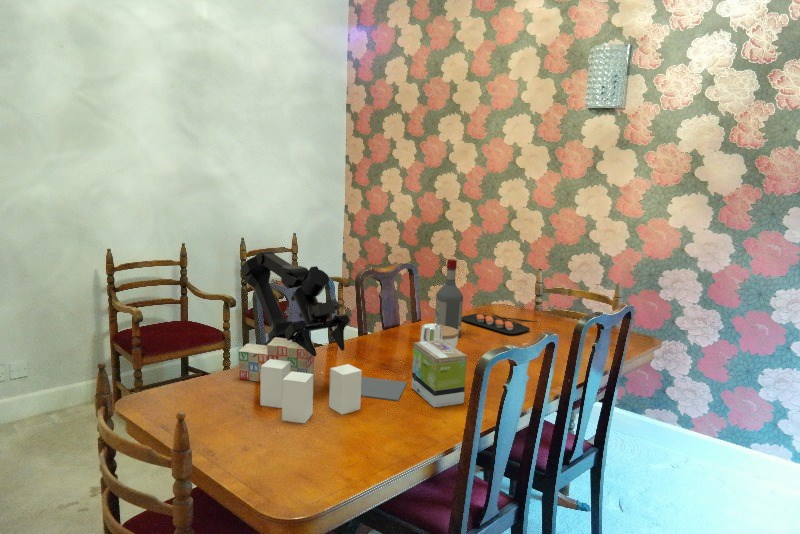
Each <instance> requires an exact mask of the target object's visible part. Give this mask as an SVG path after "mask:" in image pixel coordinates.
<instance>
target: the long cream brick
mask: <svg viewBox="0 0 800 534" xmlns="http://www.w3.org/2000/svg"><path fill="white" fill-rule="evenodd" d="M290 365H291V362H290V361H282V360H273V359H269V360H268V361H267V362H266V363H264V364H263V365H262V366H261V382H260V401H259V402H260V406H262V407H263V406H264V407H269V408H278V409H282V395H283V379H284V378H285V377H286V376H287V375H288V374H289V373H290Z"/></svg>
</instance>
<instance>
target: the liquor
mask: <svg viewBox="0 0 800 534" xmlns="http://www.w3.org/2000/svg"><path fill="white" fill-rule="evenodd" d="M457 262H458V261H457V259H454V258H453V259H452V258H450V259H447V261H446V263H447V264H446V279H445V284H444V285H442V287H440V288H439V290H437V292H436V294H435V295H436V296H435V312H434V314H435V315H434V324H438V325H440V324H442V325H443V326H449V327H453V328H455V329H457V330H458V331H459V335H458V338H460V337H461V333H462V321H463V320H462V316H463V306H464V305H463V304H464V303H463V302H464V296H463V294H462V292H461V290H460V289H459V287H458V286H457V285H456V273H457V266H458V265H457V264H458V263H457Z"/></svg>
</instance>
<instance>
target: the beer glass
mask: <svg viewBox="0 0 800 534" xmlns="http://www.w3.org/2000/svg"><path fill="white" fill-rule="evenodd" d="M441 339H442V326H441V325H438V324H435V323H424V324H422V325H421V331H420V341H419V342H424V341H433V340H441Z"/></svg>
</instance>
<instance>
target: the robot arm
mask: <svg viewBox="0 0 800 534" xmlns="http://www.w3.org/2000/svg"><path fill="white" fill-rule="evenodd" d="M240 270H241V271H240V272H241V275H242V277H243V278H244V280H245V282H246V284H248V285H249V286H251V287H252V288H253V289H254V291H255V292H256V296H257V298H258V300H259V303H260V306H261V308H262V311H263V312H264V315H265V318H266V320H267V323H268V325H269V330H268V333H267V337H268V340H267V341H266V342H265V343H264V345H266V346H267V345H268V344H269V343H270V342H271V341H272V340H273V339H274V338H275V337H277V338H284V339H285V338H287V340H288V341H289V340H292V342H296V343H297V344H299V345H300V346H302V347H303V348H304V349H305V350H307V351H308V352H309V353H310V354H311V355H313V356H314V358H315V357H317V355H318V353H317V351H316V349H315V345H314V346H313V343H312V342H313V341H312V339H311V337H310V336H311V335H310V332H312V331H319V330H324V329H329V331H331V334H330V335H331V337H332V338H333V339H334V342H335V343H336V345H337V346H338V348H339V349H340V351H342V352H344V350H345V337H344V336H345V335H344V332H345V329H346V327H347V326H348V325H349V323H350V322H351V318H350V317H349V315H348V314H346V313H342V314H336V311H337V310H339V309H340V305H339V302H338V300H337V298H331V299H329V300H327V301H326V302H322V301H321V302H320V301H318V298H317V297H319V296H320V295H321V293H322V292H323V291H324V289H325V288H326V287H327V286H328V284H329V282H330V277H329V275H328V274H327V273H326V272H325V271H324V270H322V269H319V267H318V266H317V265H316V266H315V265H314V266H311V267H310V268H309V269H308V268H307V267H306V266H301V265H294V264H291V263H289V262H288V261H286V260H285V259H283V258H281V257H280V256H278V255H276V254H275V252H273V251H270V250H269V251H259V252H257V253H256V255H254V256H253V257H250V259H247V260H246V261H245V262H244V263H243V264H242V266H241V269H240ZM271 273H274V274H275V275H277V276H278V277H280V282H281V283H282V285H284V286H285V288H286V289H295V291H292V294H291V298H290V300H291V302H296V305H297V306H298V308H299V311H300V313H299V314H298V316H299V318H300V319H301V318H302V319H303V320H297V321H292V320H290V321H287V320H286V319H285V317H284V315H283V312H282V310H281V308H280V306H279V303H278V300H277V298H276V296H275V293H274V291H273V288H272V286H271V283H270V279H271ZM331 314H335V315H334V316H333V317H332V319H331V320H328V319H329V318H330V317H331V316H330V315H331Z"/></svg>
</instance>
